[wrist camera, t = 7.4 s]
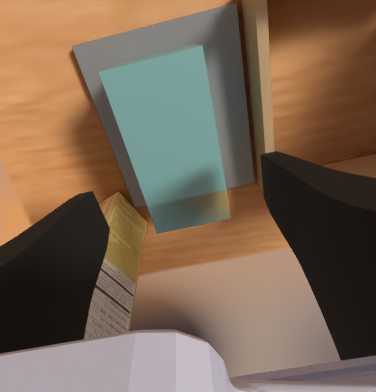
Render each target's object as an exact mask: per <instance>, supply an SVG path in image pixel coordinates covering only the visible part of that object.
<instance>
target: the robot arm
mask: <svg viewBox="0 0 376 392" xmlns="http://www.w3.org/2000/svg"><path fill="white" fill-rule="evenodd" d="M260 157H261V169H262V181H263V193H264V199H265V201H266V204H267V206H268V208H269V211H270V213H271V215H272V217H273V219H274V221H275V222H276V224H277V226H278V227H279V229H280V231H281V232H282V234H283V236H284V237H285V239H286V240H287V242H288V244H289V245H290V247H291V249H292V250H293V252H294V254H295V255H296V257H297V259H298V261H299V263H300V265H301V267H302V269H303V271H304V273H305V276H306V278H307V280H308V282H309V284H310V286H311V289H312V291H313V293H314V295H315V298H316V300H317V303H318V305H319V307H320V309H321V312H322V314H323V316H324V319H325V321H326V324H327V326H328V329H329V331H330V333H331V336H332V338H333V341H334V343H335V346H336V349H337V351H338V354H339V356H340V359H341V361H336V362H329V363H323V364H316V365H309V366H303V367H296V368H290V369H283V370H276V371H270V372H264V373H257V374H250V375H244V376H237V377H231V378H228V375H227V372H226V368H225V364H224V361H223V360H222V358H221V357H220V356H219V355H218V354H217V353H216V352H215V350H214V349H213V348H212V347H211V346H210V345H209V343H207V342H206V341H204V340H202V339H200V338H197V337H194V336H191V335H188V334H185V333H182V332H180V331H177V330H136V331H131V332H124V333H119V334H113V335H107V336H101V337H95V338H89V339H84V336H85V330H86V324H87V319H88V314H89V309H90V304H91V300H92V296H93V292H94V289H95V286H96V283H97V280H98V276H99V273H100V270H101V267H102V264H103V261H104V257H105V254H106V251H107V247H108V241H109V233H110V227H109V225H108V223H107V221H106V219H105V217H104V214H103V212H102V210H101V208H100V206H99V204H98V202H97V200H96V198H95V196H94V193H93V191H91V192H86V193H82V194H78V195H76V196H74V197H73V198H71V199H69V200H68V201H66V202H65V203H63V204H62V205H61V206H59V207H58V208H56V209H55V210H54V211H52V212H51V213H50V214H48V215H47V216H45V217H44V218H43V219H41V220H40V221H38V222H37V223H36V224H34V225H33V226H31V227H30V228H28V229H27V230H25V231H24V232H22V233H21V234H19V235H18V236H17V237H15V238H13V239H12V240H10V241H8V242H7V243H5V244H4V245H2V246H0V392H376V178H374V177H368V176H362V175H357V174H352V173H347V172H342V171H338V170H334V169H331V168H327V167H323V166H320V165H317V164H313V163H310V162H307V161H304V160H301V159H299V158H296V157H293V156H290V155H287V154H284V153H281V152H276V151H275V152H270V153H266V154H261V155H260Z"/></svg>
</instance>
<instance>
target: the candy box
mask: <svg viewBox="0 0 376 392" xmlns="http://www.w3.org/2000/svg"><path fill="white" fill-rule="evenodd" d="M99 206H100V208H101V210H102V212H103V214H104V217H105V219H106V221H107V223H108V225H109V227H110V233H109V241H108V247H107V251H106V254H105V257H104V261H103V264H102V267H101V270H100V273H99V276H98V280H97V283H96V286H95V289H94V292H93V296H92V300H91V304H90V309H89V314H88V319H87V324H86V330H85V336H84V339H89V338H95V337H101V336H107V335H113V334H119V333H124V332H129V327H130V321H131V316H132V310H133V303H134V297H135V291H136V285H137V280H138V274H139V268H140V263H141V256H142V249H143V244H144V238H145V233H146V227H147V221H146V220H145V219H144V218H143V217H142V216H141V215H140V214H139V213H138V212H137V211H136V210H135V208H134V207H133V206H132V205H131V204H130V203H129V202H128V201H127V200H126V199H125V198H124V197H123V196H122V195H121V193H120V192H117V193H115V194H114V195H112V196H111V197H109V198H107V199H106V200H104V201H103V202H101V203H99Z"/></svg>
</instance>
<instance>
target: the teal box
mask: <svg viewBox="0 0 376 392" xmlns="http://www.w3.org/2000/svg"><path fill="white" fill-rule="evenodd" d="M99 75H100V77H101V80H102V83H103V86H104V88H105V91H106V94H107V97H108V99H109V102H110V105H111V108H112V110H113V113H114V116H115V119H116V121H117V124H118V127H119V130H120V133H121V135H122V138H123V141H124V144H125V146H126V149H127V152H128V155H129V157H130V160H131V163H132V166H133V168H134V171H135V174H136V177H137V179H138V182H139V185H140V188H141V190H142V193H143V196H144V199H145V201H146V204H147V207H148V210H149V212H150V215H151V218H152V221H153V224H154V226H155V229H156V232H157V233H162V232H167V231H172V230H177V229H182V228H187V227H192V226H197V225H202V224H207V223H212V222H217V221H222V220H227V219H231V213H230V207H229V201H228V195H227V189H226V183H225V177H224V171H223V165H222V159H221V153H220V147H219V141H218V135H217V129H216V123H215V117H214V111H213V105H212V99H211V93H210V87H209V81H208V75H207V69H206V63H205V57H204V51H203V46H202V45H198V44H190V45H186V46H182V47H178V48H174V49H170V50H166V51H162V52H158V53H155V54H151V55H147V56H143V57H139V58H135V59H131V60H127V61H123V62H121V63H119V64H116V65H114V66H112V67H109V68H107V69H105V70H102V71H100V72H99Z"/></svg>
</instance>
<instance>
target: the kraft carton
mask: <svg viewBox="0 0 376 392" xmlns="http://www.w3.org/2000/svg"><path fill="white" fill-rule="evenodd" d="M241 4H242V15H243V26H244V37H245V48H246V59H247V69H248V80H249V91H250V102H251V113H252V123H253V134H254V145H255V156H256V167H257V178H258V185H259V187H260V189H261V191H262V193H263V181H262V169H261V157H260V155H261V154H266V153H270V152H275V147H274V127H273V108H272V88H271V69H270V49H269V29H268V10H267V0H241ZM320 166H323V167H327V168H331V169H334V170H338V171H342V172H347V173H352V174H357V175H362V176H368V177H374V178H376V154H372V155H367V156H363V157H358V158H353V159H348V160H344V161H339V162H334V163H329V164H325V165H320ZM263 194H264V193H263Z"/></svg>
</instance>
